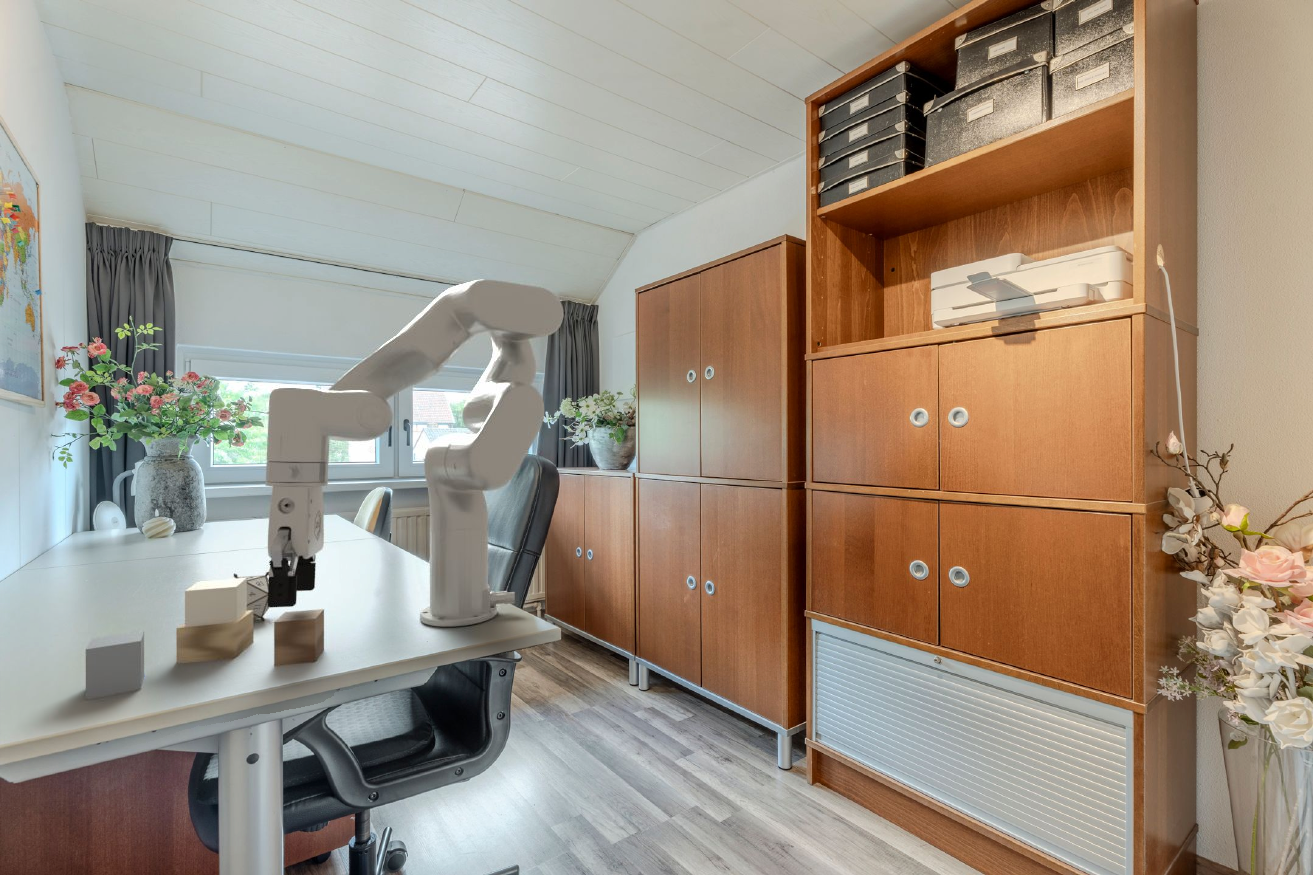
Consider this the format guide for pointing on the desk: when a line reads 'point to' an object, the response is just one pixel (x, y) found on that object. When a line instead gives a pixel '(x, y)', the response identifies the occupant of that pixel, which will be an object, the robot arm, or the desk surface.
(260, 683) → the desk surface
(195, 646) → the tower base
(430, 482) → the robot arm
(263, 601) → the game die
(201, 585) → the tower top
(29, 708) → the desk surface
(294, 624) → the walnut block
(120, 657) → the slate block
